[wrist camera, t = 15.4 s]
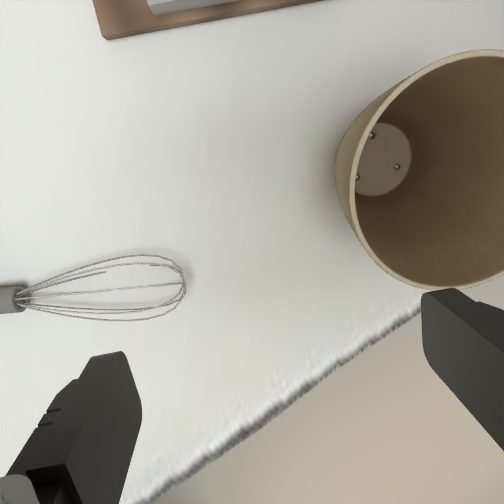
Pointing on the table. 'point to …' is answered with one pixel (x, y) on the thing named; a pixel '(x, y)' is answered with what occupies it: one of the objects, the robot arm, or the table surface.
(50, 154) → the table surface
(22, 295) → the kitchen whisk
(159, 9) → the collar
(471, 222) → the plant pot
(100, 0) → the board
